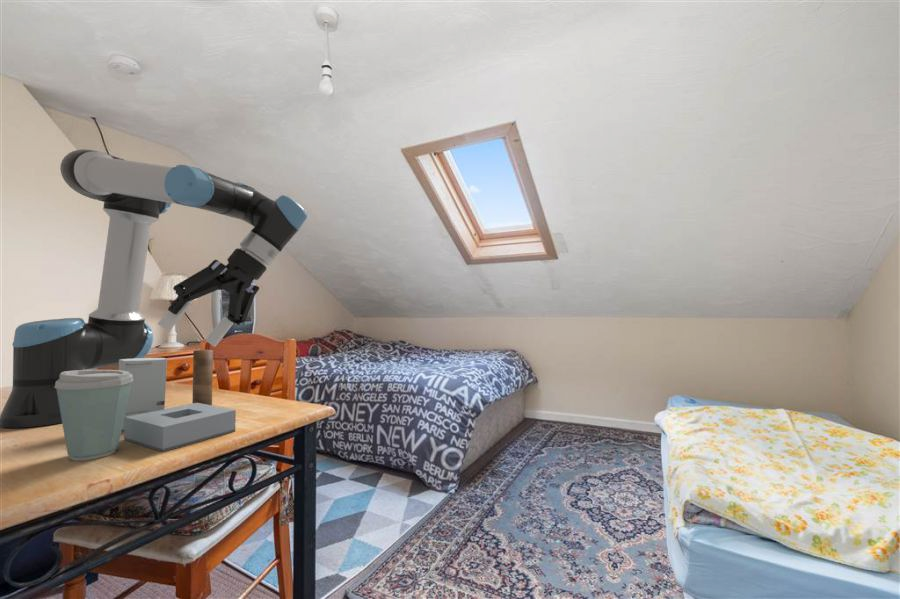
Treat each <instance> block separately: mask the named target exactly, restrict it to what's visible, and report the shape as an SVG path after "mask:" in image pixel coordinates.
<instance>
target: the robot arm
mask: <svg viewBox="0 0 900 599" xmlns="http://www.w3.org/2000/svg"><path fill="white" fill-rule="evenodd" d="M59 170H60V175H61V177H62V179H63V181H64V183H66V184H67V185H68V186H69V188H70V189H72V190H73V191H75V192H76V193H77V194H79V195H81V196H84V197H86V198H89V199H92V200H95V201H100V202H103V208H102V210H103V212H105V213H106V215H107V216H108V217H109V221H108V222H109V223H108V229H107V237H106V245H105V251H104V260H103V266H102V274H101V275H102V276H101V281H100V289H99V295H98V304H97V307H96V309H95V310H93V311H92V312H90V313H89V314H88V321H87V323H86V322H85V320H84V319H83V318H81V317H69V318H67V317H65V318H64V317H63V318H53V319H44V320H42V319H41V320H36V321H35V320H34V321H31V322H25V323H22V324H20V325H18V326H17V327H16V328H15V329H14V336H13V342H12V344H11V345H12V347H13V354H12V355H13V356H12V388H11V392H10V394H9V395H8V398H7V400H6V402H5V404H4V406H3V409H2V411H1V413H0V427H1V428H10V429H14V428H15V429H17V428H19V429H21V428H32V427H33V428H34V427H42V426H50V425H55V424H56V425H57V424H62V418H61V412H60V407H59V401H58V395H57V389H56V388H55V383H56V381H57V380H58V379H60V374H61V373H62V372H65V371H74V370H94V369H100V368H107V367H108V368H109V367H119V360H120V359H133V358H146V357H147V355H148V354H149V353H150V351H151V349H152V346H153V342H154V333H153V332H152V328H151V326H150V325H149V324H148V323H146V322H145V320H146V317H145V316H144V315H143V314H142V313H141V312H140V305H141V299H142V292H143V285H144V277H145V272H146V271H145V270H146V262H147V256H148V255H147V254H148V247H149V240H150V234H151V233H150V232H151V226H152V225H153V224H154V223H156V222H157V221H159V220H160V218H159V217H160V215H161V214H165V213H166V212H167V211H169V208H171V206H172V204H175V205H180V206H184V207H188V208H189V207H191V208H196V209H200V210H204V211H208V212H213V213H216V214H220V215H224V216H227V217H230V218H234V219H237V220H240V221H244V222H245V223H248V224H249V225H251V226H253V228H252V229H251V230H250V231H249V233H248V234H247V235H246V236H245V237H244V238H243V239H242V241H240V243H239V248H238V247H237V248H235V249H234V250H233V251H232V252H231V254H230V255H229V256H228V258H227V260H226V261H227V262H228V263H226V265H225V264H224V263H222V262H221V261H219V260H218V259H214V260H213V261H211V263H210V264H208V265H207V266H206V267H205V268H203V269H202V270H199V271H198V272H196V273H195V274H193V275H191V276H189V277H188V278H186V279H184V280H182V281H180V282H179V283H176V285H174V286H173V288H172V289H173V290H174V291H175V294H176V295H177V297H176V299H174V300H173V302H172V303H171V304H170V305H169V307H168V308H167V312H166V313H165V314H164V315H163V316H162V318H161V319H160V320H159V321H158V322H157V325H159V327H161V328H163V330H165V331H167V332H171V330H172V329H173V328H174V327H175V325H176V324H177V323H178V322H179V321H180V320H181V319H182V317H183V316H184V315H185V313H186V312H188V310H189V309H190V307H191V306H192V303H190V302H192V301H194V300H196V299H199V298H201V297H204V296H206V295H208V294H211V293H214V292H216V291H218V290H219V291H222V290H224V291H225V292H227V293H228V294H229V302H228V309H227V310H228V311H227V317H226V316H223V317H222V319H221V320H220V321H219V322H218V323H217V325H216V326H215V327H214V328H213V329H212V331H211V332H210V333H209V335H208V336H207V337H206V338H205V342H207V343H208V344H210V345H211V346H212V347H214V348H216V346H217V345H218V344H219V343H220V342H221V341H222V339H223V338H224V337H225V335H226V334H228V333H229V331H230V330H231V329H232V328H233V327H234V325H237V326H239V325H241V324H244V323H245V322H246V320H247V317H248V315H249V312H250V309H251V307H252V304H253V300H254V299H255V296H256V294H257V293H258V292H259V290H260V286H258V285H257V284H255V283H254V282H253V281H254V280H255V281H258V280H260V278H261V277H262V276H263V275H264V273H265V272H266V271H267V267H266V266H271V265H272V263H273V262H274V260H275V259H276V258H277V256H279V254H280V253H281V252H282V250H283V249H284V248H285V246H286V245H287V244H288V243H289V242H290V241H291V240H292V238H293V237H294V236H295V235H296V234H297V232H299V231H300V229H301V227H302V226H303V224H304V223H305V221H306V220H307V219H308V213H307V211H306V210H305V208H303V207H302V206H301V205H300V204H299V203H298V202H296V201H295V200H293V199H292V198H291V197H289V196H287V195H283V194H282V195H280V196H278V198H276V199H275V200H273V199H272V198H269V197H268V196H266V195H265V194H262V193H261V192H259V191H258V190H256V189H255V188H254V187H252V186H249V185H247V184H244V183H243V182H239V181H238V182H233V181H231V180H228V179H225V178H222V177H220V176H217V175H215V174H212V173H209V172H207V171H205V170H203V169H201V168H199V167H194V166H191V165H190V166H189V165H187V164H177V165H176V166H168V165H161V164H154V163H146V162H141V161H140V162H138V161H131V160H128V159H127V160H126V159H124V158H120V157H118V156H115V155H114V156H113V155H111V154H108V153H106V152H102V151H97V150H93V149H84V148H83V149H76V150H72V151H71V152H69V153H67V154H66V155H65V156H64V157H63V159H62V160H61V163H60V168H59Z"/></svg>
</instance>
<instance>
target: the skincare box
mask: <svg viewBox="0 0 900 599" xmlns="http://www.w3.org/2000/svg"><path fill="white" fill-rule="evenodd" d="M167 365H168V359H167V358H165V357H144V358H133V359H120V360H119V366H118V370H122V371H127V372H129V374H132V377H133V381H132V382H131V386H130V391H129V396H128V401H127V406H126V410H125V415H124V420H123V425H122V430H121V432H122V431H124V423H125V417H127V416H132V415H137V414H142V413H147V412H152V411H157V410H162V409H166V408H165V406H166V403H165V402H166V386H167Z"/></svg>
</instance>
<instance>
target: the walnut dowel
mask: <svg viewBox="0 0 900 599" xmlns="http://www.w3.org/2000/svg"><path fill="white" fill-rule="evenodd" d="M192 354H193V355H192V358H193V361H192V362H193V363H192V403H191V404H193V403H202V404H207V405H212V406H213V377H214V376H213V372H214V369H213V367H214V362H213V360H214V349H197V350H193V353H192Z"/></svg>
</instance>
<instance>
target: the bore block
mask: <svg viewBox="0 0 900 599" xmlns="http://www.w3.org/2000/svg"><path fill="white" fill-rule="evenodd" d="M123 431H124V432H123V433H124V434H123V441H127V442H129V441H130V443H132V442H133V444H135V445H139V446H143V447H146V448H149V449H153V450H156V451H158V452H163V453H164V452H167V451H171V450H174V449H177V448H181V447H185V446H189V445H193V444H197V443H199V442H203V441H205V440H209V439H214V438H217V437H221V436H223V435H227V434H231V433H234V432H236V409H232V408H227V407H221V406H217V405H213V404H212V405H207V404H202V403H193V404H192V403H189V404H184V405H179V406H174V407H169V408H164V409H162V410H157V411H152V412H147V413H142V414H137V415H132V416H127V417H125V423H124V430H123Z"/></svg>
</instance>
